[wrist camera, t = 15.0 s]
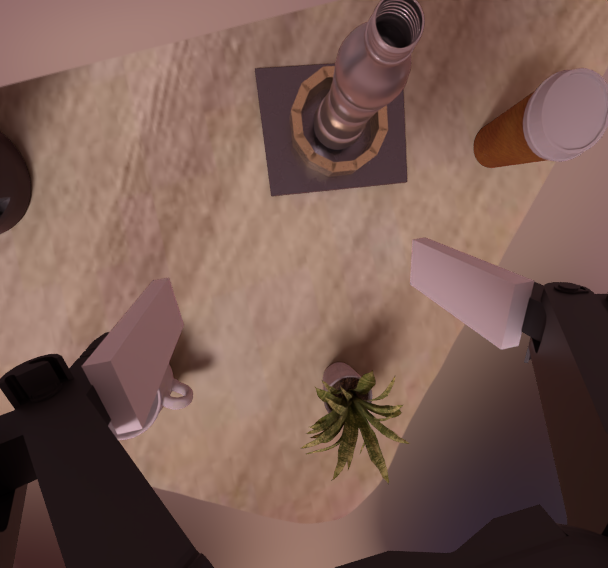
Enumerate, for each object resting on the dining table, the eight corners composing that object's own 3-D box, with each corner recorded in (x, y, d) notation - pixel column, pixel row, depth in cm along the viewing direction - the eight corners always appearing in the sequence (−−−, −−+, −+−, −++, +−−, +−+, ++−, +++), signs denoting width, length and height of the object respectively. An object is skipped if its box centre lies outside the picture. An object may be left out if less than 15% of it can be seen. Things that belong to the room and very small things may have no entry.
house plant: (306, 320, 44) (325, 369, 28) (388, 336, 46) (450, 390, 30) (285, 402, 46) (293, 492, 30) (365, 414, 48) (411, 504, 32)
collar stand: (271, 196, 40) (271, 192, 37) (255, 71, 37) (253, 54, 34) (405, 182, 42) (417, 177, 38) (400, 62, 39) (412, 44, 35)
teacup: (97, 393, 42) (57, 429, 34) (116, 327, 41) (79, 349, 33) (189, 416, 44) (171, 455, 37) (210, 355, 43) (196, 381, 35)
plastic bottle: (310, 102, 38) (351, -39, 18) (359, 104, 39) (448, -30, 19) (311, 153, 39) (349, 71, 19) (358, 154, 40) (441, 76, 20)
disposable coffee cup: (495, 191, 44) (577, 175, 32) (450, 153, 42) (520, 122, 30) (533, 138, 43) (632, 101, 31) (489, 97, 41) (576, 42, 29)
